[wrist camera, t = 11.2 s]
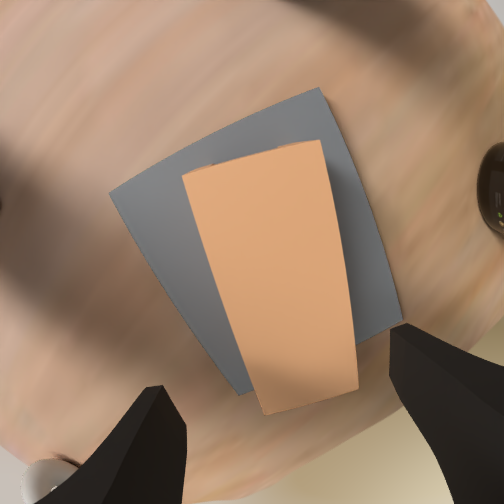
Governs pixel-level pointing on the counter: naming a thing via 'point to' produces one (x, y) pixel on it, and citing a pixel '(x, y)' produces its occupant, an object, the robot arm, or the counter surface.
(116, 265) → the counter surface
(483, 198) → the supplement bottle
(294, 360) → the rectangular block
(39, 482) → the donut
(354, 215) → the post board
